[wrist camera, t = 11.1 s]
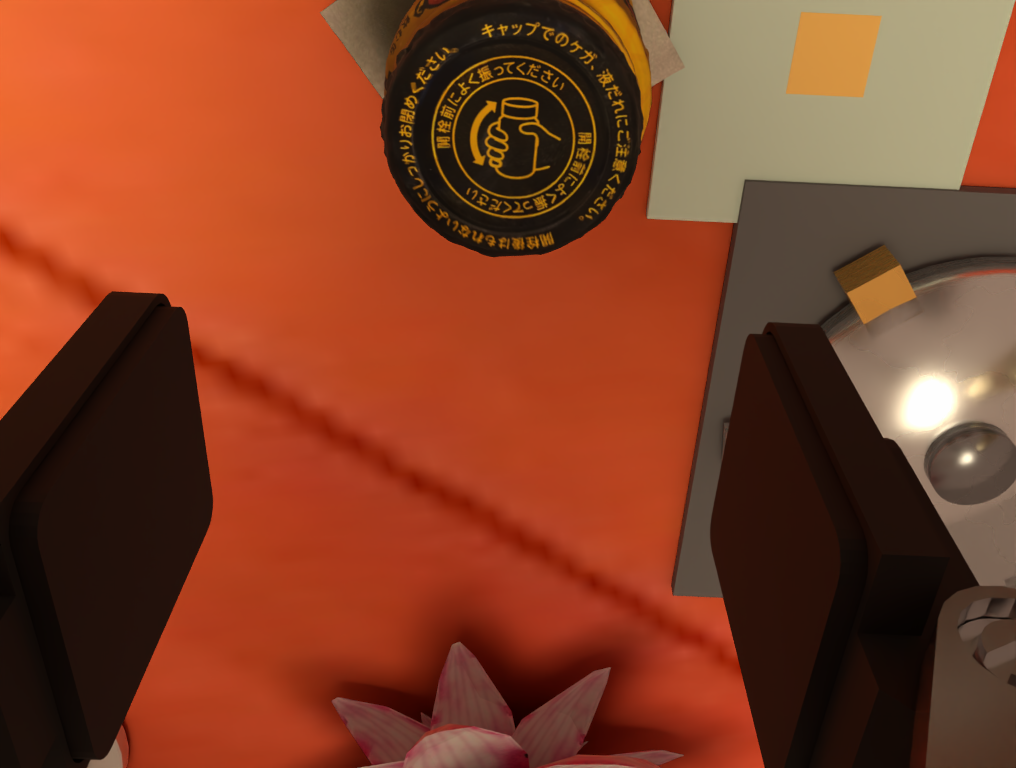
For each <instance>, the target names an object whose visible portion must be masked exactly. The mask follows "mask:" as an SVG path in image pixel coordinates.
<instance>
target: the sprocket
mask: <svg viewBox="0 0 1016 768" xmlns="http://www.w3.org/2000/svg"><path fill="white" fill-rule="evenodd" d="M834 274H835V276H836V278H837V280H838V282H839V283H840V285H841V287H842V289H843V291H844V293H845V294H846V296H847V298H848V300H849V302H850V303H849V304H848V305H847V306H845V307H844V308H843V309H841V310H840V311H839V312H837V313H836V314H835V315H833V316H832V317H831V318H829V319H828V320H827V321H826V322H825V323H824V324H823V325H822V326H821V327H822V329H823V331H824V332H825V334H826V336H827V338H828V339H829V341H830V343H831V345H832V347H833V348H834V350H835V352H836V354H837V356H838V357H839V359H840V361H841V363H842V365H843V366H844V368H845V370H846V372H847V374H848V375H849V377H850V379H851V381H852V382H853V384H854V386H855V388H856V390H857V391H858V393H859V395H860V397H861V399H862V400H863V402H864V404H865V406H866V408H867V409H868V411H869V413H870V415H871V417H872V418H873V420H874V422H875V424H876V425H877V427H878V429H879V431H880V433H881V434H882V436H883V438H889V439H892V440H894V441H895V442H896V443H897V444H898V446H899V447H900V448H901V450H902V451H903V453H904V455H905V456H906V458H907V460H908V462H909V463H910V465H911V467H912V469H913V470H914V472H915V474H916V476H917V477H918V479H919V481H920V483H921V484H922V486H923V488H924V489H925V491H926V493H927V495H928V496H929V498H930V500H931V502H932V503H933V505H934V507H935V509H936V510H937V512H938V514H939V515H940V517H941V519H942V521H943V522H944V524H945V526H946V528H947V529H948V531H949V533H950V535H951V536H952V538H953V540H954V542H955V543H956V545H957V547H958V548H959V550H960V552H961V554H962V555H963V557H964V559H965V561H966V562H967V564H968V566H969V568H970V569H971V571H972V573H973V574H974V576H975V578H976V580H977V581H978V583H979V585H980V586H1005V587H1010V588H1015V589H1016V257H979V258H971V259H962V260H955V261H950V262H946V263H942V264H937V265H933V266H929V267H926V268H923V269H920V270H917V271H914V272H911V273H908V274H905V273H904V271H903V269H902V267H901V265H900V264H899V262H898V261H897V260H896V259H895V257H894V256H893V255H892V254H891V253H890V251H889V250H888V249H887V248H886V246H885V245H883V246H881V247H879V248H878V249H876V250H874V251H872V252H870V253H868V254H866V255H865V256H863V257H861V258H859V259H857V260H855V261H854V262H852V263H850V264H848V265H846V266H844V267H843V268H841V269H839V270H837V271H835V272H834ZM728 428H729V423H724V434H723V453H722V459H723V454H724V449H725V443H726V438H727V433H728Z"/></svg>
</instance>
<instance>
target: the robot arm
mask: <svg viewBox="0 0 1016 768" xmlns="http://www.w3.org/2000/svg"><path fill="white" fill-rule="evenodd" d="M212 510H213V495H212V487H211V481H210V474H209V467H208V460H207V453H206V446H205V439H204V432H203V425H202V418H201V411H200V404H199V397H198V390H197V383H196V376H195V369H194V362H193V356H192V349H191V342H190V335H189V328H188V321H187V317H186V314H185V311H184V309H183V308H182V307H171V305H170V302H169V300H168V298H167V297H166V296H165V295H164V294H155V293H133V292H111V293H109V294H108V295H107V296H106V297H105V298H104V300H103V301H102V302H101V303H100V304H99V306H98V307H97V308H96V309H95V310H94V311H93V313H92V314H91V315H90V316H89V317H88V318H87V320H86V321H85V322H84V323H83V324H82V325H81V327H80V328H79V329H78V330H77V331H76V332H75V334H74V335H73V336H72V337H71V338H70V340H69V341H68V342H67V343H66V344H65V345H64V347H63V348H62V349H61V350H60V351H59V352H58V354H57V355H56V356H55V357H54V358H53V359H52V361H51V362H50V363H49V364H48V365H47V366H46V368H45V369H44V370H43V371H42V372H41V373H40V375H39V376H38V377H37V378H36V379H35V381H34V382H33V383H32V384H31V385H30V386H29V388H28V389H27V390H26V391H25V392H24V393H23V395H22V396H21V397H20V398H19V399H18V400H17V402H16V403H15V404H14V405H13V406H12V407H11V409H10V410H9V411H8V412H7V413H6V415H5V416H4V417H3V418H2V419H1V420H0V768H126V767H127V764H128V754H129V746H128V742H127V737H126V733H125V730H124V728H123V726H122V723H123V721H124V719H125V716H126V714H127V712H128V710H129V707H130V705H131V703H132V701H133V698H134V696H135V694H136V691H137V689H138V687H139V685H140V682H141V680H142V678H143V676H144V673H145V671H146V669H147V666H148V664H149V662H150V660H151V657H152V655H153V653H154V651H155V648H156V646H157V644H158V641H159V639H160V637H161V635H162V632H163V630H164V628H165V626H166V623H167V621H168V619H169V617H170V614H171V612H172V610H173V607H174V605H175V603H176V601H177V598H178V596H179V594H180V592H181V589H182V587H183V585H184V582H185V580H186V578H187V576H188V573H189V571H190V569H191V567H192V564H193V562H194V560H195V557H196V555H197V553H198V551H199V548H200V546H201V544H202V542H203V539H204V537H205V535H206V532H207V530H208V528H209V525H210V522H211V517H212ZM710 542H711V549H712V554H713V558H714V562H715V566H716V570H717V574H718V578H719V583H720V587H721V591H722V595H723V599H724V603H725V607H726V611H727V615H728V619H729V623H730V627H731V632H732V636H733V640H734V644H735V648H736V652H737V656H738V660H739V664H740V668H741V672H742V676H743V681H744V685H745V689H746V693H747V697H748V701H749V705H750V709H751V713H752V717H753V721H754V725H755V730H756V734H757V738H758V742H759V746H760V750H761V754H762V758H763V762H764V766H765V768H1016V589H1015V588H1010V587H1005V586H980V585H979V583H978V581H977V580H976V578H975V576H974V574H973V573H972V571H971V569H970V568H969V566H968V564H967V562H966V561H965V559H964V557H963V555H962V554H961V552H960V550H959V548H958V547H957V545H956V543H955V542H954V540H953V538H952V536H951V535H950V533H949V531H948V529H947V528H946V526H945V524H944V522H943V521H942V519H941V517H940V515H939V514H938V512H937V510H936V509H935V507H934V505H933V503H932V502H931V500H930V498H929V496H928V495H927V493H926V491H925V489H924V488H923V486H922V484H921V483H920V481H919V479H918V477H917V476H916V474H915V472H914V470H913V469H912V467H911V465H910V463H909V462H908V460H907V458H906V456H905V455H904V453H903V451H902V450H901V448H900V447H899V446H898V444H897V443H896V442H895V441H894V440H892V439H889V438H883V436H882V434H881V433H880V431H879V429H878V427H877V425H876V424H875V422H874V420H873V418H872V417H871V415H870V413H869V411H868V409H867V408H866V406H865V404H864V402H863V400H862V399H861V397H860V395H859V393H858V391H857V390H856V388H855V386H854V384H853V382H852V381H851V379H850V377H849V375H848V374H847V372H846V370H845V368H844V366H843V365H842V363H841V361H840V359H839V357H838V356H837V354H836V352H835V350H834V348H833V347H832V345H831V343H830V341H829V339H828V338H827V336H826V334H825V332H824V331H823V329H822V327H821V326H820V325H819V324H801V323H779V322H768V323H767V324H766V325H765V328H764V330H763V332H762V334H749V335H748V336H747V339H746V341H745V345H744V350H743V355H742V360H741V365H740V371H739V376H738V381H737V386H736V391H735V397H734V402H733V407H732V412H731V417H730V423H729V428H728V433H727V438H726V443H725V449H724V454H723V459H722V464H721V469H720V475H719V480H718V485H717V490H716V495H715V500H714V506H713V511H712V516H711V524H710Z"/></svg>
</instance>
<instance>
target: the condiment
mask: <svg viewBox="0 0 1016 768" xmlns="http://www.w3.org/2000/svg"><path fill="white" fill-rule="evenodd" d="M320 13H321V15H322V16H323V18H324V19H325V20H326V22H327V23H328V24H329V26H330V27H331V29H332V30H333V32H334V33H335V34H336V35H337V36H338V38H339V39H340V40H341V41H342V43H343V44H344V46H345V47H346V49H347V50H348V52H349V53H350V54H351V56H352V57H353V58H354V60H355V61H356V63H357V64H358V65H359V67H360V68H361V70H362V71H363V73H364V74H365V75H366V77H367V78H368V80H369V81H370V82H371V84H372V85H373V87H374V88H375V89H376V90H377V92H378V93H379V95H380V96H381V97H382V99H383V103H382V109H381V111H382V116H383V118H382V122H381V126H380V129H381V137H382V139H383V140H384V147H385V148H384V154H385V156H386V157H387V162H388V166H389V169H390V172H391V174H392V177H393V178H394V179H395V181H396V184H397V186H398V187H399V189H400V191H401V193H402V195H403V196H404V197H405V199H406V200H407V201H408V203H409V204H410V205H411V207H412V208H413V210H414V211H415V212H416V213H417V215H418V216H419V217H420V218H421V219H422V220H423V221H424V222H425V223H426V224H427V225H428V226H429V227H430V228H432V229H434V230H435V231H436V232H438V233H439V234H440V235H441V236H443V237H444V238H446V239H447V240H448V241H450V242H452V243H455V244H458V245H462V246H464V247H466V248H469V249H471V250H474V251H477V252H479V253H481V254H483V255H486V256H490V257H499V256H523V255H535V254H538V255H541V254H545V253H548V252H551V251H553V250H556V249H558V248H561V247H563V246H565V245H566V244H568V243H570V242H572V241H574V240H576V239H578V238H581V237H582V236H583V235H584V234H585V233H587V232H588V231H590V230H592V229H593V228H594V227H596V226H597V225H599V224H600V223H601V222H602V221H603V220H604V219H606V217H607V216H608V214H609V213H610V211H611V209H612V207H613V206H614V204H615V203H616V202H617V201H618V200H619V199H620V198H622V196H623V195H624V191H625V190H626V187H627V186H628V185H629V184H630V183H631V180H632V177H633V174H634V172H635V169H636V164H637V158H638V155H639V154H640V153H641V150H640V145H641V142H642V139H643V136H644V132H645V129H646V126H647V124H648V119H649V113H650V108H651V105H652V86H654V85H655V84H657V83H659V82H660V81H662V80H664V79H666V78H667V77H669V76H671V75H672V74H674V73H676V72H678V71H679V70H682V69H683V68H685V66H684V64H683V62H682V60H681V58H680V57H679V55H678V53H677V51H676V49H675V47H674V46H673V44H672V42H671V40H670V38H669V36H668V35H667V32H666V30H665V29H664V27H663V25H662V23H661V22H660V20H659V18H658V16H657V14H656V12H655V11H654V9H653V7H652V5H651V3H650V1H649V0H336V1H335V2H334V3H332V4H331V5H330V6H328V7H327V8H326V9H324V10H323V11H321V12H320Z"/></svg>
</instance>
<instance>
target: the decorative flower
mask: <svg viewBox="0 0 1016 768" xmlns="http://www.w3.org/2000/svg"><path fill="white" fill-rule="evenodd" d="M610 669H611V667H609V668H604V669H600V670H596V671H593V672H592V673H590V674H589V675H587V676H586V677H584V678H583V679H581V680H580V681H578V682H577V683H575V684H574V685H572V686H571V687H569V688H568V689H566V690H565V691H563V692H562V693H560V694H559V695H557V696H556V697H554V698H553V699H551V700H550V701H548V702H547V703H545V704H544V705H542V706H541V707H539V708H538V709H536V710H535V711H533V712H532V713H530V714H529V715H527V716H526V717H524V718H523V719H522V720H521V722H520V723H519V725H518V727H517V728H516V730H515V725H514V721H513V716H512V712H511V709H510V708H509V706H508V705H507V703H506V702H505V700H504V699H503V697H502V696H501V694H500V693H499V691H498V690H497V688H496V687H495V685H494V684H493V682H492V681H491V679H490V678H489V676H488V675H487V673H486V672H485V670H484V669H483V667H482V666H481V664H480V663H479V661H478V660H477V658H476V657H475V656H474V655H473V654H472V653H471V652H470V651H469V650H468V649H467V648H466V647H465V646H464V645H463V644H462V643H461V642H457V643H455V644H452V646H451V649H450V652H449V654H448V657H447V660H446V662H445V665H444V668H443V670H442V673H441V676H440V678H439V683H438V689H437V694H436V699H435V704H434V709H433V715H432V718H430V717H429V716H427V715H425V714H424V713H422V712H421V720H422V723H420V722H418V721H416V720H414V719H411V718H409V717H407V716H405V715H403V714H401V713H399V712H397V711H395V710H393V709H391V708H389V707H386V706H381V705H375V704H370V703H365V702H360V701H355V700H349V699H344V698H339V697H337V698H335V699H334V700H332V703H333V705H334V707H335V708H336V710H337V712H338V714H339V715H340V717H341V719H342V720H343V722H344V723H345V725H346V727H347V728H348V730H349V731H350V733H351V734H352V736H353V737H354V739H355V740H356V742H357V743H358V745H359V746H360V748H361V749H362V751H363V752H364V754H365V755H366V757H367V758H368V760H369V761H370V763H371V764H372V766H366V767H359V768H661V767H659V766H658V765H661V764H663V763H666V762H668V761H671V760H673V759H676V758H678V757H681V756H683V755H682V754H677V753H673V752H669V751H664V750H645V751H637V752H629V753H621V754H613V755H605V756H604V755H579V754H578V755H576V754H577V752H578V751H579V750H580V749H581V748H582V747H583V746H584V745H585V744H586V743H587V742H588V741H587V742H584V743H583V741H584V739H585V736H586V734H587V731H588V729H589V726H590V724H591V721H592V719H593V716H594V714H595V711H596V709H597V706H598V704H599V702H600V699H601V697H602V694H603V692H604V689H605V687H606V684H607V680H608V676H609V673H610Z"/></svg>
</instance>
